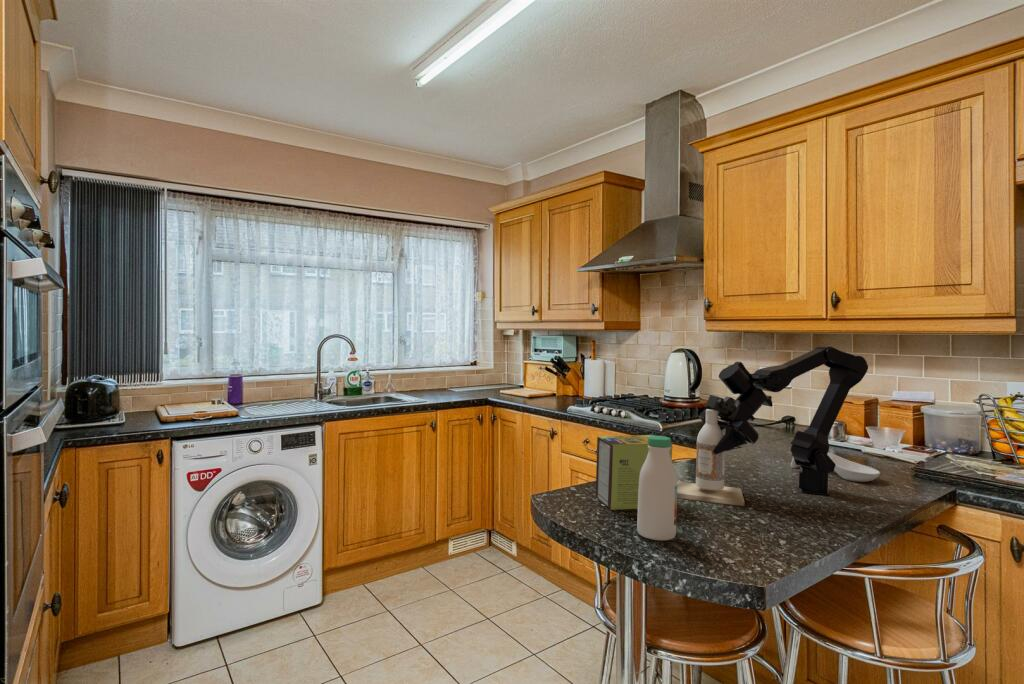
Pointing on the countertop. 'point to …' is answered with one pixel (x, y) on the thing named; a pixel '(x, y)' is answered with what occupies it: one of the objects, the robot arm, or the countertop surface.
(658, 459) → the milk bottle
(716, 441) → the bath foam
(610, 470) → the protein box
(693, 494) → the birch board
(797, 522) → the countertop surface
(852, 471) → the spoon rest
